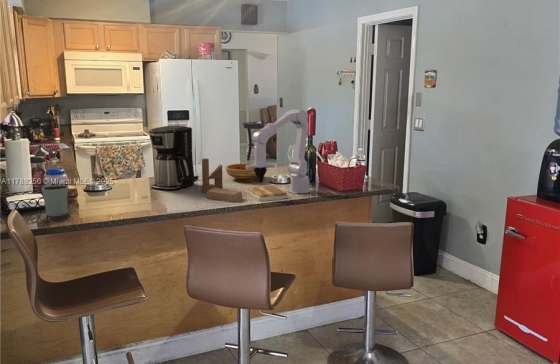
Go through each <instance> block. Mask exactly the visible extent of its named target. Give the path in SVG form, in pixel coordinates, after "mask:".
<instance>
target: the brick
mask: <svg viewBox="0 0 560 364" xmlns="http://www.w3.org/2000/svg"><path fill="white" fill-rule="evenodd" d="M206 195H207V196H206V198H207V199H208V200H215V201H220V202H221V201H223V202H230V203H231V202H234V203H237V202H239V201H241V200H243V191H241V190H233V189H231V190H229V189H227V188H226V189H221V188H213V189H211V190H209V191H207V192H206Z"/></svg>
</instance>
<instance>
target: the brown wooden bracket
mask: <svg viewBox="0 0 560 364" xmlns="http://www.w3.org/2000/svg"><path fill="white" fill-rule="evenodd" d="M209 160H210V159H209V158H202V159H201V177H202V182H201V183H202V184H201V192H202V193H207V191H209V190H211V189H213V188H221V189H223V188H224V187H223V165H222V164H219V165H218V166H217V167H216V168H215V169H214V171H212V172H211V174H210V165H209V164H210V163H209V162H210V161H209ZM210 180H213V181H214V183H211V184H210Z"/></svg>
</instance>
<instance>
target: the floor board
mask: <svg viewBox="0 0 560 364" xmlns="http://www.w3.org/2000/svg"><path fill="white" fill-rule="evenodd" d="M261 187H263V188H265V189H267V190H269V191H270V192H272V193H274V196H271V197H261V198H259V197H258V196H256V195H255V194H253V193H252V192H250V191H248V189H245V190H244V191H245V194H247V195H248V196H250V197H251V198H253V199H254V200H255V201H258V202H263V201H265V202H266V201H275V199H277V200H285V199H284V198H287V199H288V198H289V195H288V194H287V193H288V192H286V191H284V190H282V189H280V188H279V187H276V186H275V185H265V186H261Z"/></svg>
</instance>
